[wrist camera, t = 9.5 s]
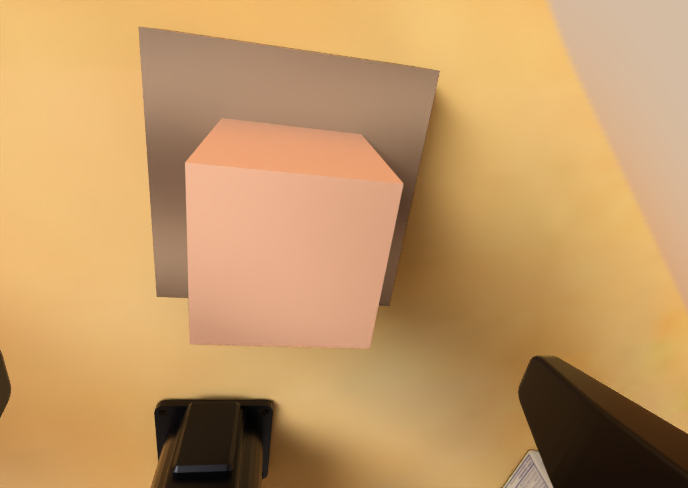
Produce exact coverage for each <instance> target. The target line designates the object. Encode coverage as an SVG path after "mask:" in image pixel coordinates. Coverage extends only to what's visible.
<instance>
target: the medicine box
mask: <svg viewBox="0 0 688 488" xmlns="http://www.w3.org/2000/svg"><path fill="white" fill-rule="evenodd" d="M503 488H553V486H552V484H551V481H550V479H549V477H548V474H547V472H546V469H545V467H544V464H543V462H542V459H541V456H540V454H539V451H535V450H529V451H528V453H527V454H526V456H525V457H524V458H523V460H522V461H521V463H520V464H519V466H518V467H517V468H516V470H515V471H514V473H513V474H512V475H511V477H510V478H509V480H508V481H507V482H506V484H505V485H504V487H503Z"/></svg>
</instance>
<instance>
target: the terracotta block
mask: <svg viewBox="0 0 688 488" xmlns="http://www.w3.org/2000/svg"><path fill="white" fill-rule="evenodd" d="M185 179H186V218H187V257H188V296H189V335H190V344H198V345H242V346H285V347H329V348H370V345H371V340H372V335H373V330H374V325H375V320H376V316H377V311H378V306H379V301H380V296H381V291H382V286H383V282H384V277H385V272H386V267H387V262H388V257H389V252H390V248H391V243H392V238H393V233H394V228H395V223H396V218H397V213H398V209H399V204H400V199H401V194H402V189H403V182H402V181H401V180H400V179H399V178H398V177H397V175H396V174H395V173H394V172H393V171H392V170H391V168H390V167H389V166H388V165H387V164H386V162H385V161H384V160H383V159H382V158H381V157H380V155H379V154H378V153H377V152H376V151H375V150H374V148H373V147H372V146H371V145H370V144H369V143H368V141H367V140H366V139H365V138H364V137H363V135H362V134H354V133H346V132H337V131H328V130H320V129H311V128H303V127H294V126H286V125H277V124H269V123H260V122H252V121H243V120H235V119H226V118H221V120H220V121H219V122H218V123H217V124H216V126H215V127H214V128H213V129H212V131H211V132H210V133H209V134H208V135H207V137H206V138H205V139H204V140H203V141H202V143H201V144H200V145H199V146H198V147H197V149H196V150H195V151H194V152H193V154H192V155H191V156H190V157H189V158H188V160H187V161H186V162H185Z"/></svg>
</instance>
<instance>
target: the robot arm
mask: <svg viewBox="0 0 688 488" xmlns="http://www.w3.org/2000/svg"><path fill="white" fill-rule="evenodd" d="M10 393H11V384H10V380H9V377H8V373H7V370H6V366H5V362H4V359H3V355H2V352H1V350H0V417H1V415H2V413H3V411H4V409H5V407H6V405H7V403H8V401H9V398H10ZM518 395H519V400H520V403H521V406H522V409H523V411H524V414H525V417H526V419H527V422H528V425H529V427H530V430H531V433H532V435H533V438H534V440H535V443H536V446H537V448H538V451H539V454H540V456H541V459H542V462H543V464H544V467H545V469H546V472H547V474H548V477H549V479H550V481H551V484H552V486H553V488H688V434H687V433H685V432H684V431H682V430H680V429H678V428H677V427H675V426H673V425H672V424H670V423H668V422H667V421H665V420H663V419H662V418H660V417H658V416H656V415H655V414H653V413H651V412H650V411H648V410H646V409H645V408H643V407H641V406H640V405H638V404H636V403H634V402H633V401H631V400H629V399H628V398H626V397H624V396H623V395H621V394H619V393H617V392H616V391H614V390H612V389H611V388H609V387H607V386H606V385H604V384H602V383H601V382H599V381H597V380H595V379H594V378H592V377H590V376H589V375H587V374H585V373H584V372H582V371H580V370H579V369H577V368H575V367H573V366H572V365H570V364H568V363H567V362H565V361H563V360H562V359H560V358H558V357H555V356H534V357H533V358H532V359H531V360H530V362H529V364H528V367H527V369H526V371H525V374H524V376H523V378H522V381H521V383H520V386H519V391H518ZM163 409H166V410H163ZM263 409H265V410H263ZM154 415H155V427H156V439H157V451H158V465H157V468H156V472H155V475H154V478H153V482H152V485H151V488H261V483H262V479H264V478H266V477H267V475H268V463H269V451H270V440H271V428H272V416H273V404H272V403H271V402H270V401H267V400H164V401H160V402H159V403H158V404H157V405H156V408H155V412H154Z"/></svg>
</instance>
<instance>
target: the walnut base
mask: <svg viewBox="0 0 688 488" xmlns="http://www.w3.org/2000/svg"><path fill="white" fill-rule="evenodd" d="M139 40H140V55H141V70H142V85H143V99H144V114H145V129H146V144H147V158H148V173H149V188H150V203H151V218H152V232H153V247H154V262H155V277H156V291H157V297H176V298H189V296H188V257H187V218H186V179H185V162H186V161H187V160H188V158H189V157H190V156H191V155H192V154H193V152H194V151H195V150H196V149H197V147H198V146H199V145H200V144H201V143H202V141H203V140H204V139H205V138H206V137H207V135H208V134H209V133H210V132H211V131H212V129H213V128H214V127H215V126H216V124H217V123H218V122H219V121H220V120H221V118H226V119H235V120H243V121H252V122H260V123H269V124H277V125H286V126H294V127H303V128H311V129H320V130H328V131H337V132H346V133H354V134H362V135H363V137H364V138H365V139H366V140H367V141H368V143H369V144H370V145H371V146H372V147H373V148H374V150H375V151H376V152H377V153H378V154H379V155H380V157H381V158H382V159H383V160H384V161H385V162H386V164H387V165H388V166H389V167H390V168H391V170H392V171H393V172H394V173H395V174H396V175H397V177H398V178H399V179H400V180H401V181H402V182H403V189H402V194H401V199H400V204H399V209H398V213H397V218H396V223H395V228H394V233H393V238H392V243H391V248H390V252H389V257H388V262H387V267H386V272H385V277H384V282H383V286H382V291H381V296H380V301H379V306H389V304H390V300H391V295H392V290H393V286H394V281H395V277H396V272H397V267H398V263H399V258H400V253H401V249H402V244H403V239H404V235H405V230H406V225H407V221H408V216H409V212H410V207H411V202H412V198H413V193H414V188H415V184H416V179H417V174H418V170H419V165H420V160H421V156H422V151H423V147H424V142H425V137H426V133H427V128H428V123H429V119H430V114H431V109H432V105H433V100H434V95H435V91H436V86H437V81H438V77H439V72H440V71H437V70H432V69H426V68H421V67H415V66H408V65H401V64H395V63H388V62H381V61H374V60H367V59H361V58H354V57H347V56H340V55H333V54H327V53H320V52H313V51H306V50H299V49H293V48H286V47H279V46H272V45H265V44H259V43H252V42H245V41H238V40H231V39H225V38H218V37H211V36H204V35H197V34H191V33H184V32H177V31H170V30H163V29H155V28H146V27H139Z"/></svg>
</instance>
